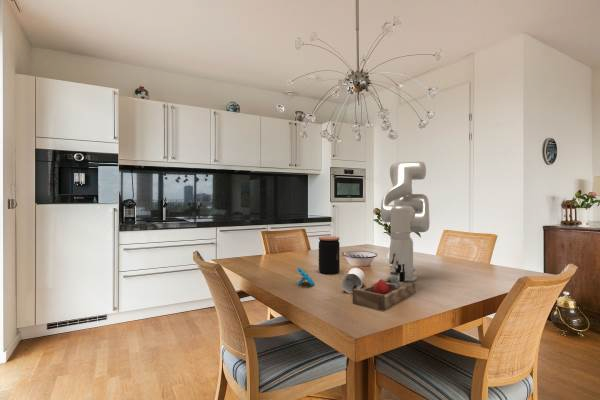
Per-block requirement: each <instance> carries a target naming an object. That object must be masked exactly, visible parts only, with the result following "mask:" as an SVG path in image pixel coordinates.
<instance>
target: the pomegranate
mask: <svg viewBox="0 0 600 400" xmlns="http://www.w3.org/2000/svg"><path fill="white" fill-rule="evenodd" d="M383 280H384V279H383V278H380V279H379V280H378V281H377V282H375V283H376V284H375V283H374V284H375V285H374V288H373V291H374V293H379V294H384V295H385V294H387V293H389V287H388V285H387V284H386V283H385V282H384V281H383Z"/></svg>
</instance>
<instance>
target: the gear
mask: <svg viewBox="0 0 600 400" xmlns="http://www.w3.org/2000/svg"><path fill="white" fill-rule="evenodd" d="M297 271H298V272H299V274H300V275H301V276H302V277H301V279H300V280H299V281H298V282H297V286H300V285H301V284H302V283H303V282H305V281H307V282H308V283H309V284H310V285H311V286H314V285H315V282H314V281H313V279H312V278H311V277H310V276H309V274H308V273H306V271H304V270H303V269H302V268H301V267H297Z"/></svg>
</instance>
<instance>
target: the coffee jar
mask: <svg viewBox="0 0 600 400" xmlns="http://www.w3.org/2000/svg"><path fill="white" fill-rule="evenodd" d="M318 240H319V241H318V272H319V273H320V274H323V275H336V274H339V272H340V270H341V269H340V267H341V265H340V262H341V261H340V250H341V249H340V244H341V243H340V241H339V240H340V237H339V236H335V235H334V236H332V235H330V236H329V235H327V236H326V235H324V236H323V235H322V236H319V237H318Z"/></svg>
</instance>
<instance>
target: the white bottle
mask: <svg viewBox="0 0 600 400" xmlns="http://www.w3.org/2000/svg"><path fill="white" fill-rule="evenodd" d="M365 279H366V276H365V273H364V272H363V270H362V269H360V268H359V267H358V268H357V267H353V268H350V270H349V271H347V274H345V275H344V276H343V277H342V279H341V282H340V284H341V287H342V289H343V290H344V292H346V293H348V294H353V289H354V287H355V289H359V290H360V289H362V287H363V283H364V282H365Z"/></svg>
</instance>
